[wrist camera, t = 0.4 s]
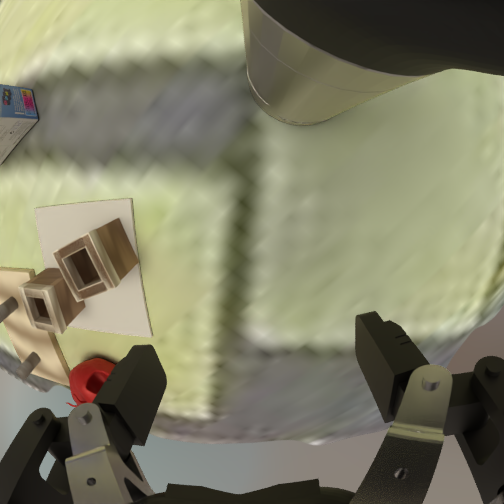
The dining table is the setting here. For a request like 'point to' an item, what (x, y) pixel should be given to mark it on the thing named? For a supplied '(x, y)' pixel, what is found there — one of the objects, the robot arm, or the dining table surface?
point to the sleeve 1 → (49, 301)
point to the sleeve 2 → (96, 260)
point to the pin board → (29, 331)
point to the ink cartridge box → (15, 116)
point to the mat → (131, 287)
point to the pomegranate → (88, 379)
